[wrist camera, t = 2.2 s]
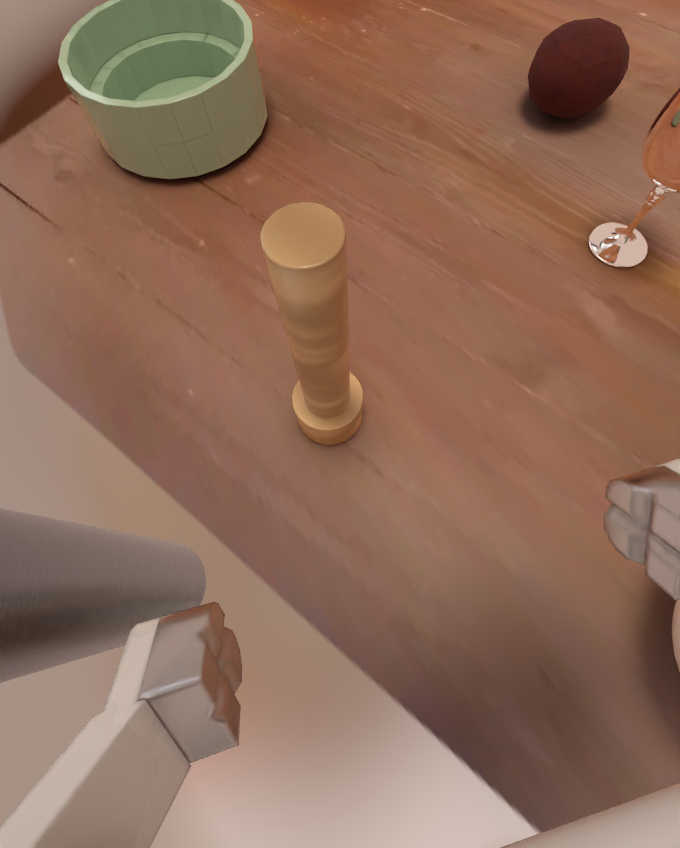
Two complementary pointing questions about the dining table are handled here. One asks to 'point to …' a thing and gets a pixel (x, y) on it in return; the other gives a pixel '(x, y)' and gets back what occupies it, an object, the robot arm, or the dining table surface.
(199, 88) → the mixing bowl
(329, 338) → the muddler
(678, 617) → the lidded bowl
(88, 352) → the dining table surface
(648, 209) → the wineglass
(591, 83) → the potato
